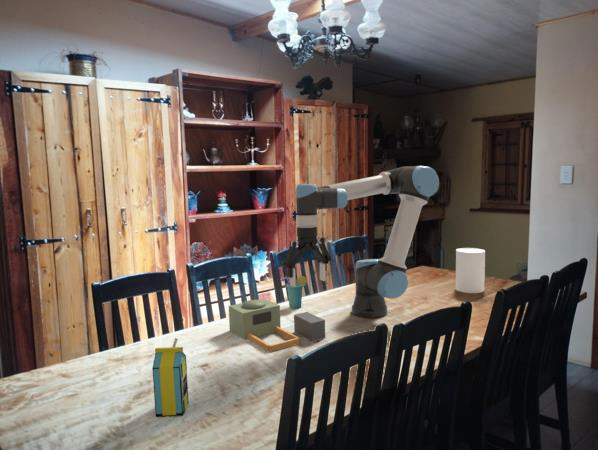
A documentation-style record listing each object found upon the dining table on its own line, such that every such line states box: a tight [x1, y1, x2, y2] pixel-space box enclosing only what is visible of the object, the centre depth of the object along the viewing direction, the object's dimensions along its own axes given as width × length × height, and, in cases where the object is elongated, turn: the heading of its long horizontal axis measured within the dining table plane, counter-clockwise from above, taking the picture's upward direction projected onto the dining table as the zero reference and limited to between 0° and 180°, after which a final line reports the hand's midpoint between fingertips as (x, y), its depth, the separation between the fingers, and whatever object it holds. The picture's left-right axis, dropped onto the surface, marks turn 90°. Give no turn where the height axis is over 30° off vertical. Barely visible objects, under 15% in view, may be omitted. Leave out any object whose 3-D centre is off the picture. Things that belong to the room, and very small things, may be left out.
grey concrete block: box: [293, 311, 326, 342], centre depth 173 cm, size 6×12×7 cm, turn 32°
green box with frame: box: [228, 298, 302, 353], centre depth 172 cm, size 16×28×11 cm, turn 34°
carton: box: [151, 337, 189, 418], centre depth 121 cm, size 7×8×18 cm
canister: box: [455, 247, 486, 294], centre depth 229 cm, size 14×14×20 cm
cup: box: [279, 275, 308, 310], centre depth 206 cm, size 14×8×15 cm, turn 127°
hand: (308, 283), depth 171 cm, fingers open, 13 cm apart
